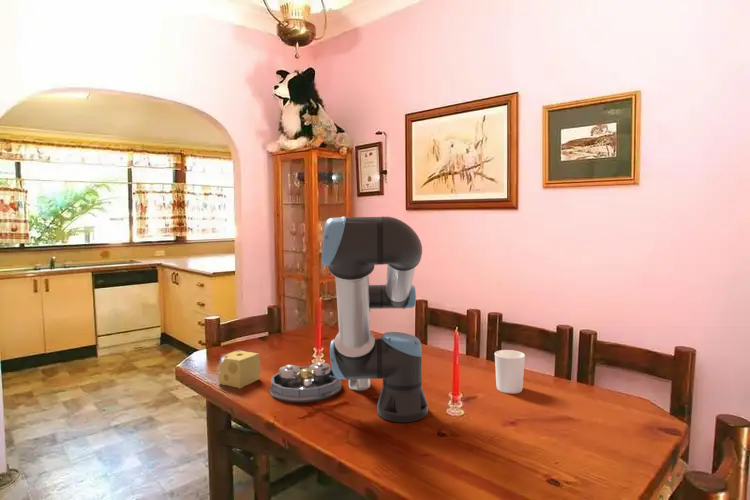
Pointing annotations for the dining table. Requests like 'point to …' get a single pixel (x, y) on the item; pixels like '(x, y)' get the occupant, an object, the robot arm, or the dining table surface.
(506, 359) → the white tapered cup
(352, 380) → the octagonal hollow container
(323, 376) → the carrier
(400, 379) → the robot arm
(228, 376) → the cheese
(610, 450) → the dining table surface
